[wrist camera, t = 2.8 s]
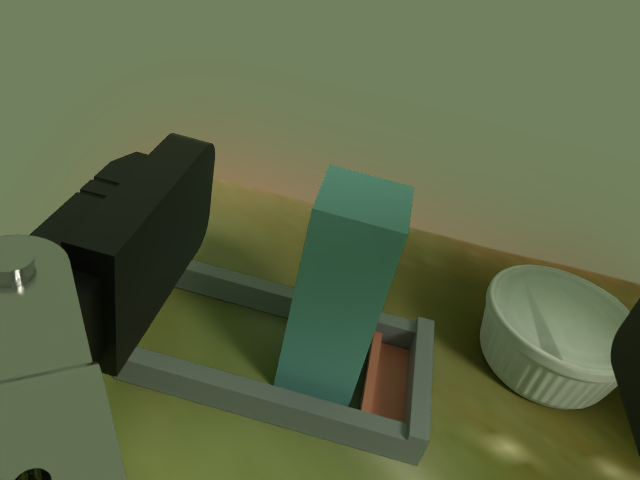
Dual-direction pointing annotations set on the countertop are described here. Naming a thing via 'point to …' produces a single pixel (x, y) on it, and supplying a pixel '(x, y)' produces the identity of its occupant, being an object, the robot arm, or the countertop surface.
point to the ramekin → (551, 335)
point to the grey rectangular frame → (296, 408)
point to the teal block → (342, 282)
